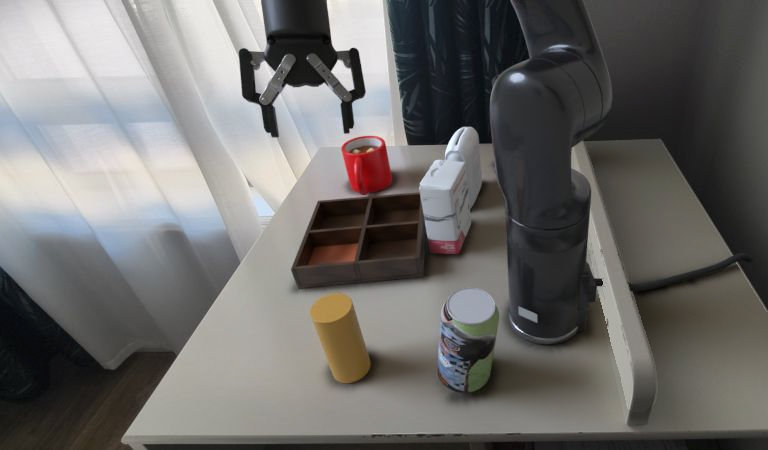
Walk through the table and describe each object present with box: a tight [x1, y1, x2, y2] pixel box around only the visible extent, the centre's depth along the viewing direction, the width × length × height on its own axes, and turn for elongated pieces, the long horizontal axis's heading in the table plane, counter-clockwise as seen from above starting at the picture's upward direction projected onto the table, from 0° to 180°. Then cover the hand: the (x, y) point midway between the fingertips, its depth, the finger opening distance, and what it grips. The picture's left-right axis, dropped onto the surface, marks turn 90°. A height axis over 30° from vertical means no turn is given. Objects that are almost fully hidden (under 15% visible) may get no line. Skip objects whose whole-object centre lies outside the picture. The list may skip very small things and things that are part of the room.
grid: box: [290, 191, 427, 289], centre depth 76 cm, size 18×18×4 cm
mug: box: [340, 135, 393, 197], centre depth 90 cm, size 8×12×8 cm, turn 5°
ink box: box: [418, 159, 472, 255], centre depth 75 cm, size 9×5×12 cm, turn 168°
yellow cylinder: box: [309, 292, 372, 384], centre depth 55 cm, size 4×4×10 cm
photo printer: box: [444, 126, 483, 210], centre depth 84 cm, size 10×4×12 cm, turn 169°
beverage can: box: [437, 287, 500, 394], centre depth 53 cm, size 6×7×12 cm
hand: (311, 135), depth 62 cm, fingers open, 8 cm apart
